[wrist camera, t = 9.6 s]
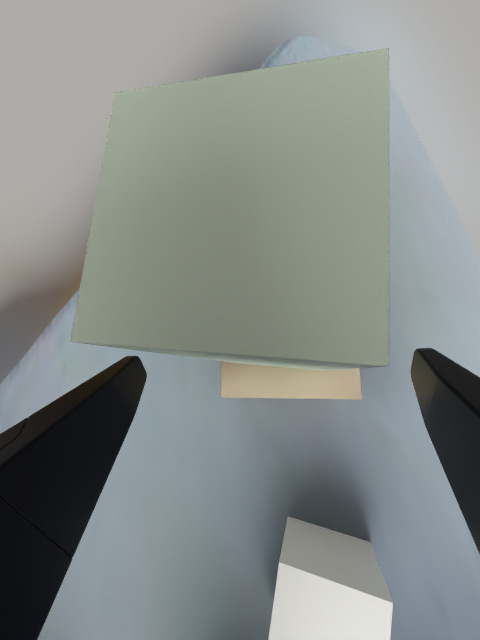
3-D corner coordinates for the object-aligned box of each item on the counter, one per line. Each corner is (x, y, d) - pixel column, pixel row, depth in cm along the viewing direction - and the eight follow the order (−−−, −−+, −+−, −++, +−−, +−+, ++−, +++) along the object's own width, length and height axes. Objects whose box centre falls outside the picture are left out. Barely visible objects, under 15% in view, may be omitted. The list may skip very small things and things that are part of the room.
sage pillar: (325, 370, 16) (388, 366, 4) (239, 363, 17) (70, 341, 5) (328, 285, 17) (389, 47, 5) (246, 284, 18) (115, 92, 6)
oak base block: (352, 395, 19) (362, 399, 15) (237, 394, 21) (221, 397, 17) (342, 283, 21) (349, 261, 17) (237, 291, 23) (222, 273, 19)
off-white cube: (361, 637, 16) (381, 742, 12) (275, 602, 18) (262, 683, 13) (370, 541, 17) (393, 602, 12) (287, 515, 19) (279, 562, 14)
